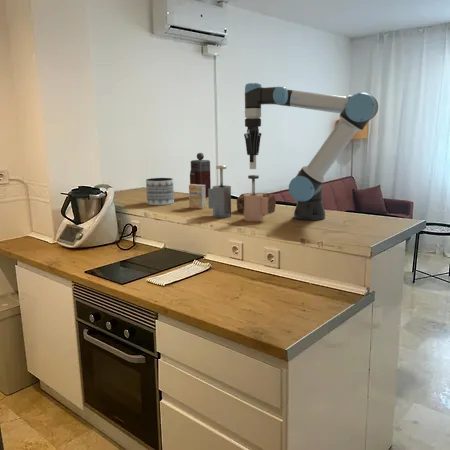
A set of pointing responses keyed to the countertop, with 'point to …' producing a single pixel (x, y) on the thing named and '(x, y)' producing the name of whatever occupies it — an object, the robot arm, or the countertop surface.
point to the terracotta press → (255, 207)
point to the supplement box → (197, 196)
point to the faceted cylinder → (220, 201)
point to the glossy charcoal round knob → (253, 182)
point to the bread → (266, 195)
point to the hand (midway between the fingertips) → (252, 169)
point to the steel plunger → (221, 174)
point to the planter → (160, 191)
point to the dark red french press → (200, 172)
